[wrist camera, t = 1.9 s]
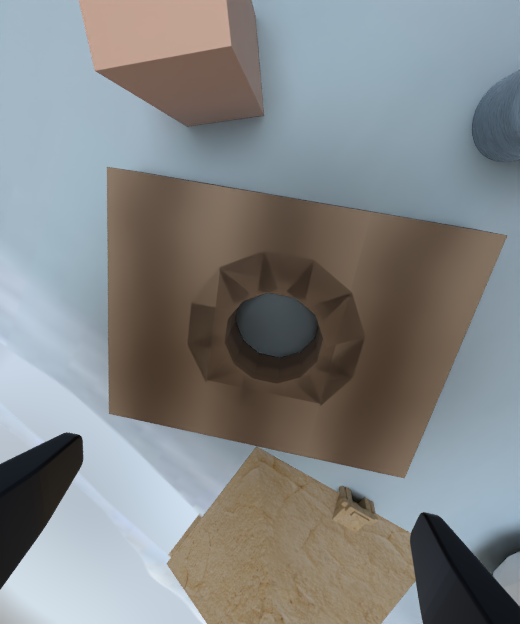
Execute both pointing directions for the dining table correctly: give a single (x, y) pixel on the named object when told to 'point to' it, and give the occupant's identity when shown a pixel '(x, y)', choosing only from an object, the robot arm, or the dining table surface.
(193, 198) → the bore block
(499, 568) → the perfume bottle
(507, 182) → the dining table surface
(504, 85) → the round dowel
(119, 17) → the square bar
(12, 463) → the robot arm
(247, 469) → the model pyramid
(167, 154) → the dining table surface
